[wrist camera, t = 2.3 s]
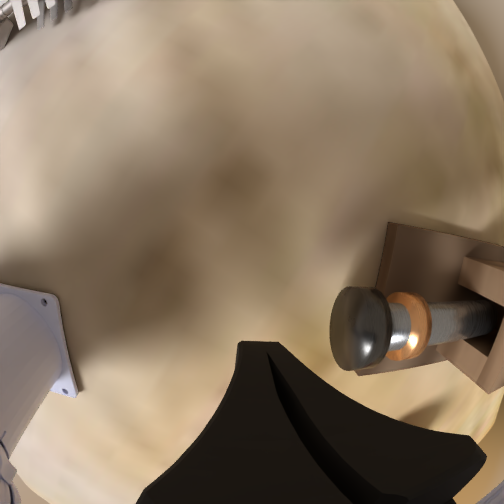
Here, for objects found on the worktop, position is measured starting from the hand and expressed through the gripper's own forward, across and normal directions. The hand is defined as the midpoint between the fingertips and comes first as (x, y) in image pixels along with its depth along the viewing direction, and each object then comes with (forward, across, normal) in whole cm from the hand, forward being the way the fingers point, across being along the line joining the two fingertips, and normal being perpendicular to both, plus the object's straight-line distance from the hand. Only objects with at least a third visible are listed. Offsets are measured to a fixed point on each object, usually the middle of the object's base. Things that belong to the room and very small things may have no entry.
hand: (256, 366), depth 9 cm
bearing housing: (+6, -15, 0) cm, 16 cm away
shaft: (+5, -11, 0) cm, 12 cm away
